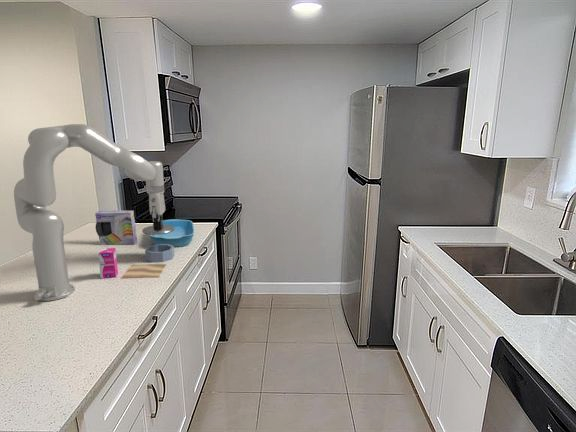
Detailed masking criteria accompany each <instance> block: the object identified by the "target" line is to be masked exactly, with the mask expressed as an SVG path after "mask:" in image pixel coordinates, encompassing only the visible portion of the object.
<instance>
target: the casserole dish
mask: <svg viewBox="0 0 576 432" xmlns="http://www.w3.org/2000/svg"><path fill="white" fill-rule="evenodd" d="M163 225H171V226H174V228H175V230H174V231H173V232H170V233H167V234H160V235H149V236H150V238H151V240H152V243H153V244H154V245H157V244H169V245H172V246H174V248H179V247H187V246H188V245H189V244H191V242H192V240H193V238H194V234H195V226H194V223H193V221H192V220H189V219H179V218H178V219H176V218H175V219H174V218H173V219H166V220H164V219H163ZM151 226H153V224H152V225H151Z"/></svg>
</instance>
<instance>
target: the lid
mask: <svg viewBox="0 0 576 432" xmlns="http://www.w3.org/2000/svg"><path fill="white" fill-rule="evenodd" d="M160 221H161V230H154V228H153V226H152V225H149V226H146V227H144V228H142V231H141V232H142V233H143V234H145V235H149V236H150V235H160V234H167V233H170V232H173V231H174V230H175V228H174V226H171V225H163V221H164V219H163V218H162V219H160Z"/></svg>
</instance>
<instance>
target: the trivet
mask: <svg viewBox="0 0 576 432" xmlns="http://www.w3.org/2000/svg"><path fill="white" fill-rule="evenodd" d="M166 266H167V263H159V264H158V263H154V264H151V263H150V264H149V263H148V264H131V265H130V267H129V268H128V269H127V270H126V271H125V272H124V273H123V275H122V276H121V277H120V279H121V280H122V279H148V278H149V279H152V278H153V279H157V278H160V276H161V274H162V273H163V271H164V269H165V267H166Z"/></svg>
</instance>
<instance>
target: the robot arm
mask: <svg viewBox="0 0 576 432" xmlns="http://www.w3.org/2000/svg"><path fill="white" fill-rule="evenodd" d="M27 141H28V142H27V143H28V145H29V146H28V147H27V149H26V151H25V153H24V155H23V158H22V159H23V161H22V166H23V167H22V169H23V178H21V179H20V180H18V181H17V183H16V184H15V185H14V187H13V199H14V207H15V213H16V218H17V222H18V225H19V227H20V228H21V229H22V230H24V231H25V232H27V233H30V234H31V235H32V243H31V244H32V245H31V247H32V253H33V255H32V256H33V260H34V261H33V262H34V268H35V273H36V279H37V280H36V281H37V284H38V285H37V286H38V290H37V291H36V292H35V293H34V296H33V299H34V300H35V301H39V302H40V301H42V302H50V301H57V300H60V299H63V298H66V297H69V296H70V295H72V294H74V292H75V290H76V287H75V286H74V285H73V284H70V278H69V272H68V270H69V269H68V264H67V263H68V262H67V257H66V250H65V244H64V243H65V242H64V230H65V229H64V228H65V225H64V221H63V219H62V218H61V216H60V215H59V214H58V213H56V212H55V211H52V210H49V209H47V207H48V206H51V205H52V204H54V203H55V201H56V198H57V190H56V182H55V174H54V172H55V171H54V165H55V161H56V159H57V157H58V156H59V155H60V154H61V153H63V152H64V151H66V149H68V148H69V149H70V148H74V147H75V148H81V149H83V150H84V151H86V152H88V153H89V154H91V155H93V156H94V157H95V158H97V159H99V160H101V161H102V162H104V163H106V164H108V165H110V166H115V167H118V168H122V169H123V170H124V173H125V175H126V177H127V178H129V179H131V180H135V181H143V182H145V184H146V185H145V186H146V187H145V188H146V193H147V194H148V206H149V214H150V216H151V218H152V225H153V228H154V230H161V221H160V219H163V214H164V213H165V211H166V203H165V202H166V201H165V195H164V193H165V181H164V180H165V179H164V166H163V163H162V162H161V161H155V160H151V161H148V160H146V159H145V158H143V157H142V156H141V155H139V154H137V153H134V152H133V151H131V150H129V149H127V148H125V147H124V146H121V145H119V144H117V143H116V142H114V141H113V140H111V139H109V137H106V135H104V134H103V133H101V132H100V131H98V130H97V129H95V128H94V127H92V126H90V125H87V124H84V123H83V124H81V123H77V124H75V123H73V124H72V123H70V124H65V125H63V124H62V125H57V126H47V127H38V128H35V129H33V130H32V131H31V132H29V134H28V136H27Z"/></svg>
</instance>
